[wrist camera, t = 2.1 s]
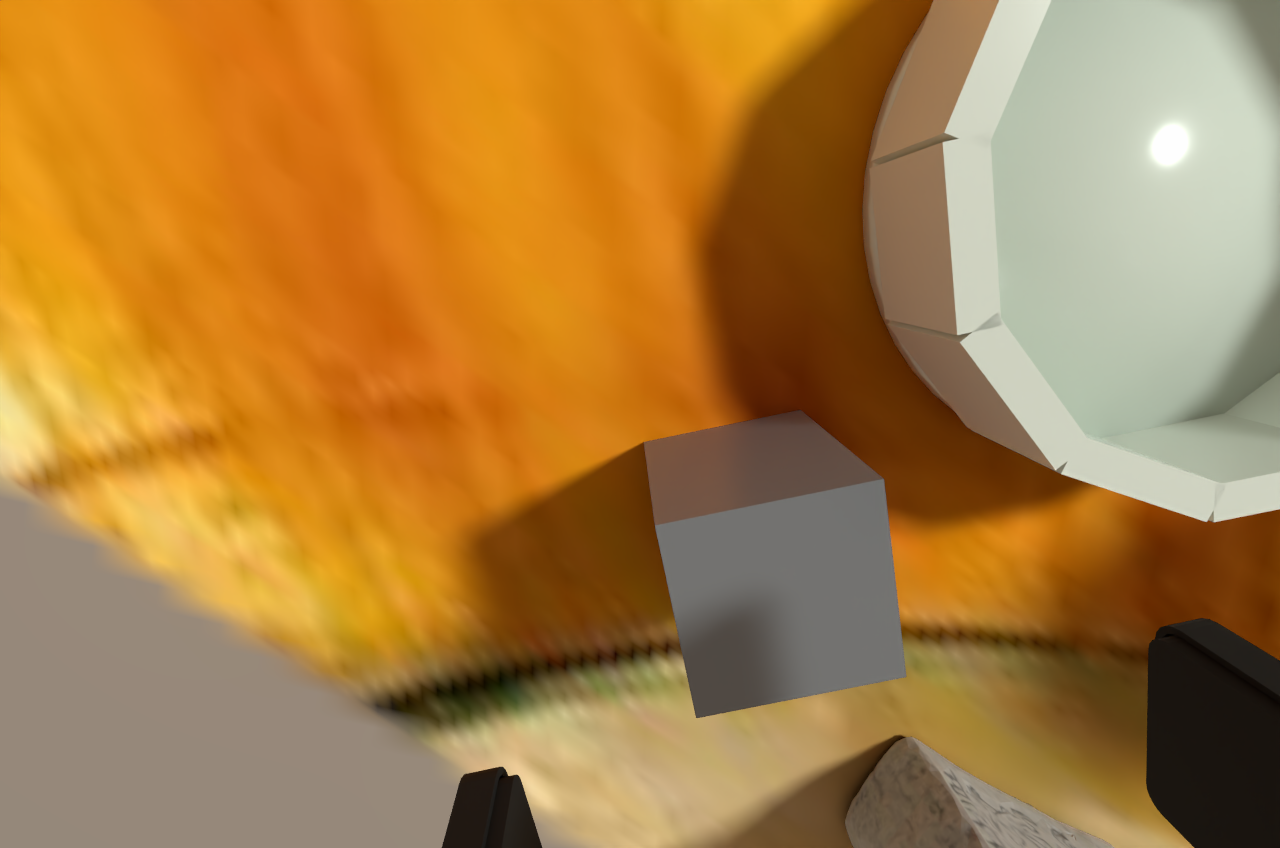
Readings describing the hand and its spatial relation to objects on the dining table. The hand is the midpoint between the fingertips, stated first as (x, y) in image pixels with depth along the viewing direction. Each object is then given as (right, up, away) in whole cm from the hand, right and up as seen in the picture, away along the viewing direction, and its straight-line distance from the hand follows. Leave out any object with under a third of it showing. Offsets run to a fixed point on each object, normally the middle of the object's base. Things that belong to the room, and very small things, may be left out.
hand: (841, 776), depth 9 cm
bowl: (+11, +12, +9) cm, 19 cm away
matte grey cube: (0, +3, +11) cm, 12 cm away
